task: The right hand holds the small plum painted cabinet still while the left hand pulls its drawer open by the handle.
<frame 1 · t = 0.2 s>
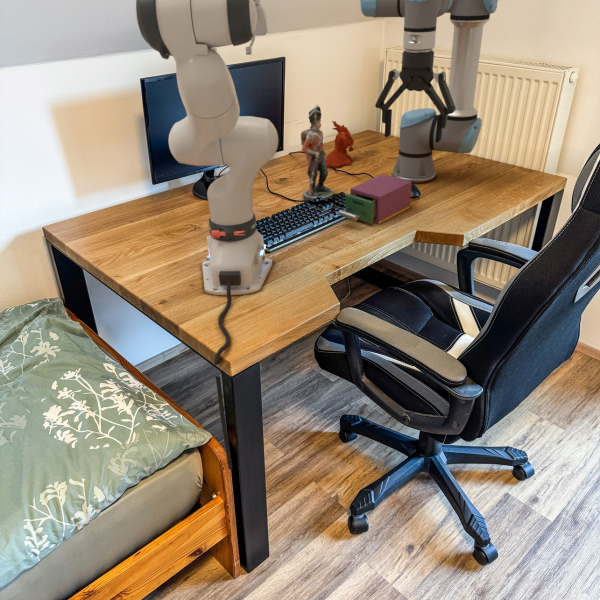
left hand: (231, 55, 151), 48 cm above the table, tool pointing down, fingers open, 8 cm apart
right hand: (412, 138, 146), 29 cm above the table, tool pointing down, fingers open, 13 cm apart
drawer: (367, 204, 172), point 4 cm above the table, slide at 1.9 cm
figurine: (318, 198, 189), on the table
cabinet: (380, 210, 178), on the table
toy: (333, 162, 220), on the table
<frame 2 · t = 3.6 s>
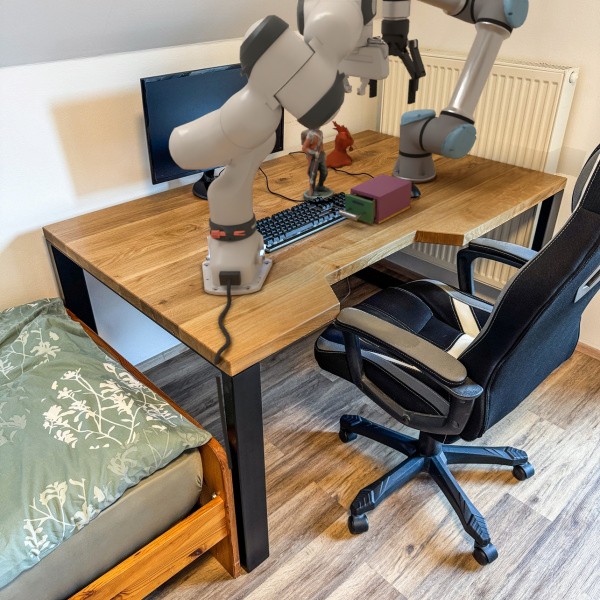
left hand: (354, 93, 150), 38 cm above the table, tool pointing down, fingers open, 3 cm apart
right hand: (391, 100, 163), 33 cm above the table, tool pointing down, fingers open, 13 cm apart
nothing on the table moved.
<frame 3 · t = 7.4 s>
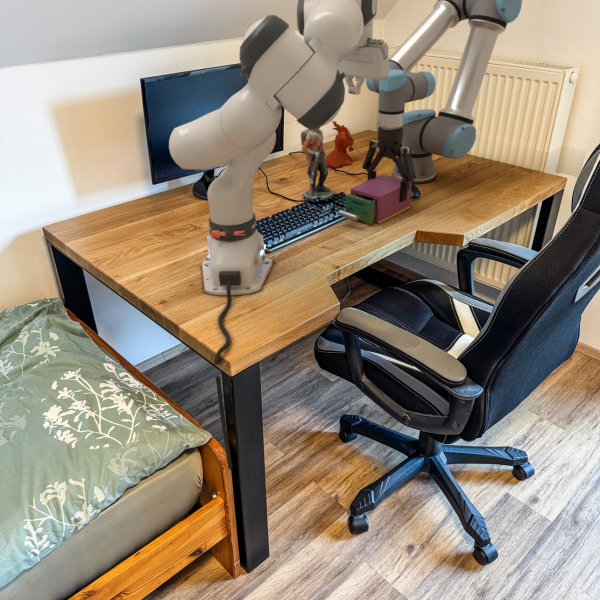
left hand: (354, 93, 150), 38 cm above the table, tool pointing down, fingers closed
right hand: (387, 196, 178), 4 cm above the table, tool pointing down, fingers closed on cabinet, 11 cm apart
cabinet: (380, 210, 178), on the table, touching right hand
everything else where it was.
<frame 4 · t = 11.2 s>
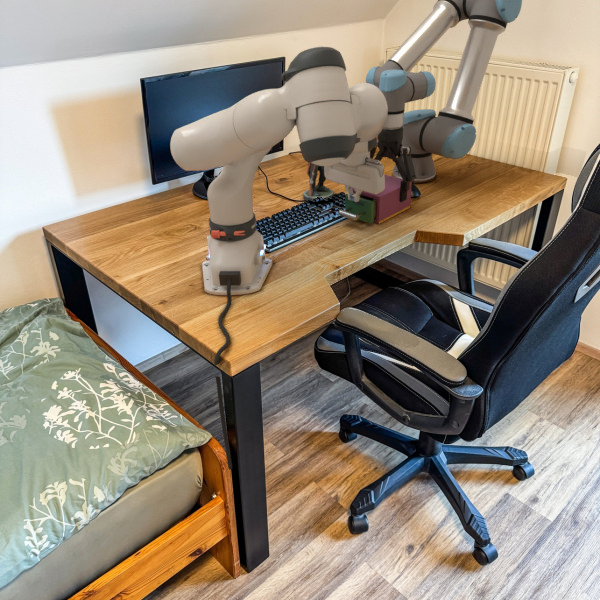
left hand: (353, 200, 166), 8 cm above the table, tool pointing down, fingers closed
right hand: (387, 196, 178), 4 cm above the table, tool pointing down, fingers closed on cabinet, 11 cm apart
cabinet: (380, 210, 178), on the table, touching right hand
everything else where it was.
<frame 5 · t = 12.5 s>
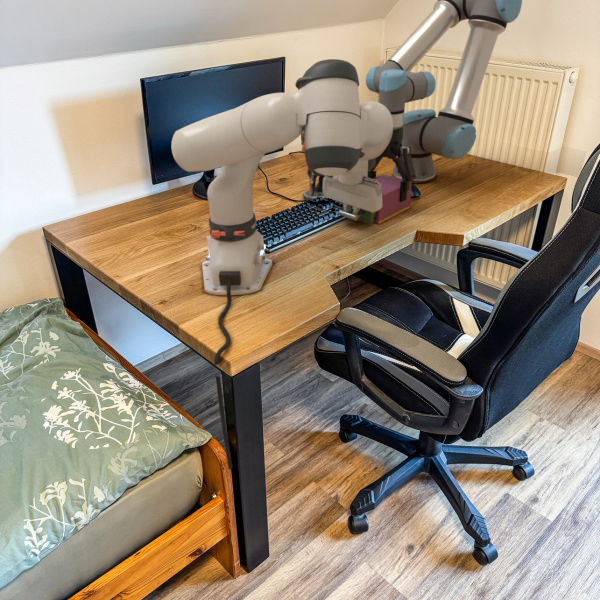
left hand: (351, 217, 169), 2 cm above the table, tool pointing down, fingers closed, pressing on drawer
right hand: (387, 196, 178), 4 cm above the table, tool pointing down, fingers closed on cabinet, 11 cm apart
drawer: (367, 204, 172), point 4 cm above the table, slide at 1.9 cm, touching left hand
cabinet: (380, 210, 178), on the table, touching right hand
everything else where it was.
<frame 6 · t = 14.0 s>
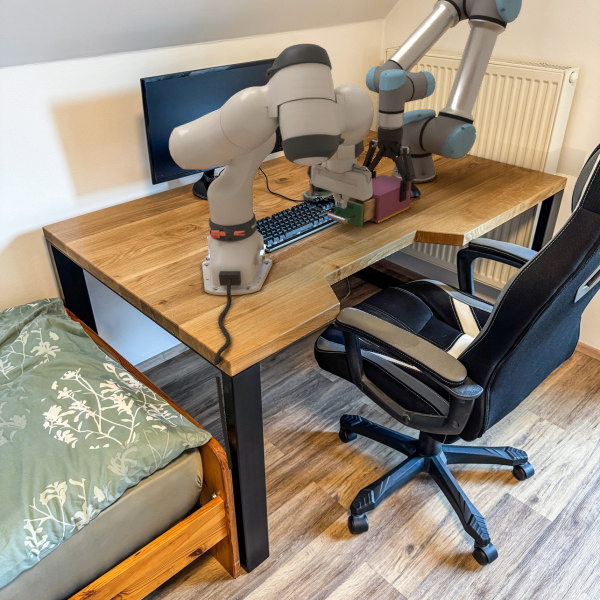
left hand: (341, 207, 164), 7 cm above the table, tool pointing down, fingers closed
right hand: (386, 196, 178), 4 cm above the table, tool pointing down, fingers closed on cabinet, 11 cm apart
drawer: (357, 207, 169), point 5 cm above the table, slide at 6.5 cm
cabinet: (379, 210, 178), on the table, touching right hand
everything else where it was.
when the right hand's fingers open (4 cm above the table, at t = 15.2 s): cabinet stays where it is, on the table.
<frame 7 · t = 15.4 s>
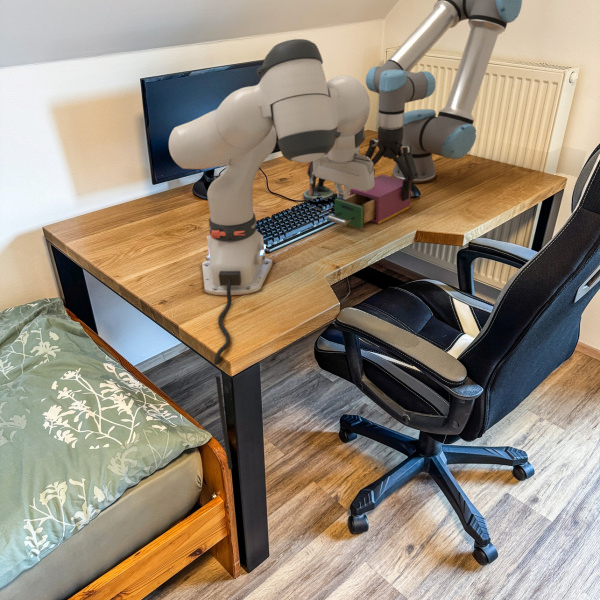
left hand: (343, 198, 162), 10 cm above the table, tool pointing down, fingers closed
right hand: (387, 194, 178), 4 cm above the table, tool pointing down, fingers open, 13 cm apart
cabinet: (379, 211, 178), on the table
everything else where it was.
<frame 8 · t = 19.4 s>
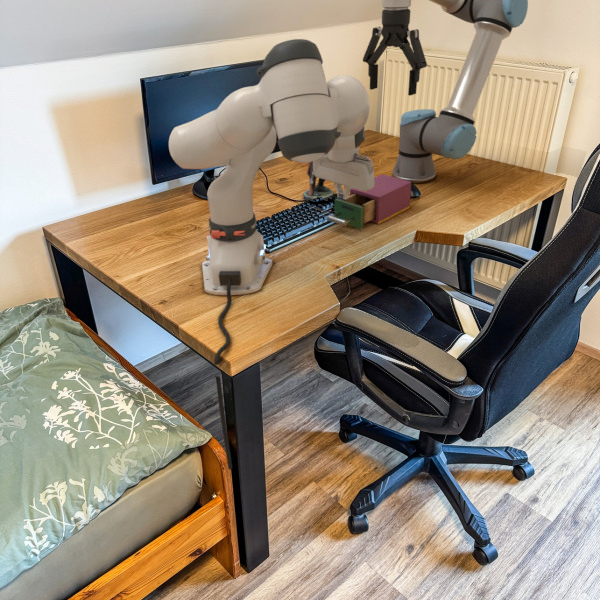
left hand: (343, 198, 162), 10 cm above the table, tool pointing down, fingers closed
right hand: (392, 91, 161), 36 cm above the table, tool pointing down, fingers open, 13 cm apart
nothing on the table moved.
at the end: drawer slide at 6.5 cm; cabinet tilted 0°; cabinet never tilted more than 2° during the clip; cabinet moved 0.2 cm from its start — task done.
